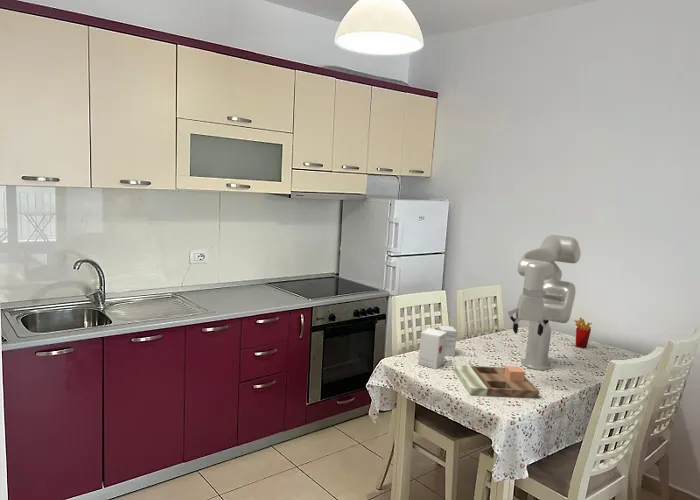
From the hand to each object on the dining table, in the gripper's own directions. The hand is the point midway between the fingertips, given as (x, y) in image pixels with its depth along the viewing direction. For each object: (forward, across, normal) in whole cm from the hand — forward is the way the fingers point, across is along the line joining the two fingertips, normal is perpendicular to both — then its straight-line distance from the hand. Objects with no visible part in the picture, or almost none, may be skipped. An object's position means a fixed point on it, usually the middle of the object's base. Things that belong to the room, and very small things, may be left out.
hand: (527, 333), depth 212 cm
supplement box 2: (+22, +28, -29) cm, 46 cm away
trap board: (+22, +12, +4) cm, 25 cm away
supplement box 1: (+22, +36, -13) cm, 44 cm away
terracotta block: (+18, +4, +3) cm, 19 cm away
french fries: (+21, -45, -61) cm, 79 cm away
